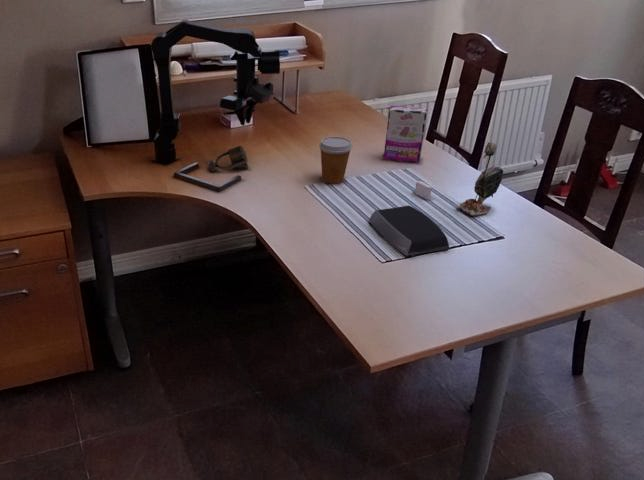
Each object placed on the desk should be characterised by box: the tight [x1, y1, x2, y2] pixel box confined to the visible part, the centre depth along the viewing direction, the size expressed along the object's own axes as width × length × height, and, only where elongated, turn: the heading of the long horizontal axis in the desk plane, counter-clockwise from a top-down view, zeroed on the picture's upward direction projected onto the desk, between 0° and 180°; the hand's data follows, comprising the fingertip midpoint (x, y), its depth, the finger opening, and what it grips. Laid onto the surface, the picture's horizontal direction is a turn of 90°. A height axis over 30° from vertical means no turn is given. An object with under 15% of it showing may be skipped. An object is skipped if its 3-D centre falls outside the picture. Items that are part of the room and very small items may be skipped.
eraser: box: [414, 180, 433, 201], centre depth 177 cm, size 1×5×4 cm, turn 25°
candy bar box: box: [383, 105, 429, 164], centre depth 197 cm, size 11×5×16 cm, turn 68°
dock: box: [173, 161, 242, 193], centre depth 194 cm, size 18×10×2 cm, turn 48°
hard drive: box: [368, 205, 450, 257], centre depth 158 cm, size 13×19×4 cm
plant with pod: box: [456, 141, 504, 216], centre depth 165 cm, size 8×11×20 cm
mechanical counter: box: [207, 144, 249, 172], centre depth 199 cm, size 7×13×10 cm
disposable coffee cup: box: [318, 136, 353, 185], centre depth 187 cm, size 10×10×12 cm
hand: (245, 124), depth 200 cm, fingers closed
